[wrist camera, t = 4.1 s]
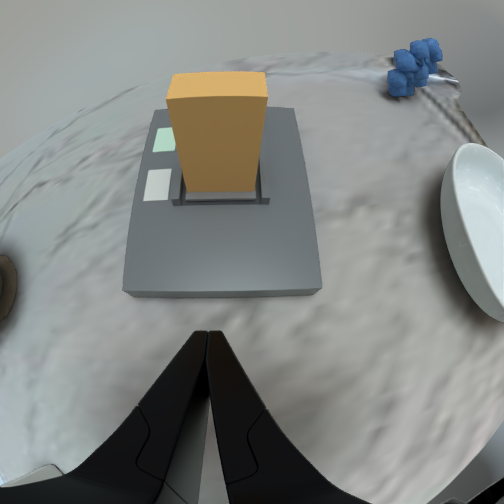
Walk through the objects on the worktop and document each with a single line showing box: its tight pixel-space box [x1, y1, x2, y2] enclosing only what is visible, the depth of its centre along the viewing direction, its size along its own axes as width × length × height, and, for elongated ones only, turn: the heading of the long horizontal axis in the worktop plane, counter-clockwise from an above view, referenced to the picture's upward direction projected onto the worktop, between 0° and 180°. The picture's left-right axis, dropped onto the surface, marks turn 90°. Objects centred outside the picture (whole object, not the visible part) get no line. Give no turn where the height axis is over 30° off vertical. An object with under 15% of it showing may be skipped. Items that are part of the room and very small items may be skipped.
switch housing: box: [122, 107, 322, 298], centre depth 22 cm, size 18×14×4 cm
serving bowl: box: [441, 143, 504, 323], centre depth 21 cm, size 21×21×7 cm
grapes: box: [387, 38, 442, 97], centre depth 27 cm, size 12×7×12 cm, turn 122°
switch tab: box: [166, 72, 268, 201], centre depth 16 cm, size 4×5×9 cm
